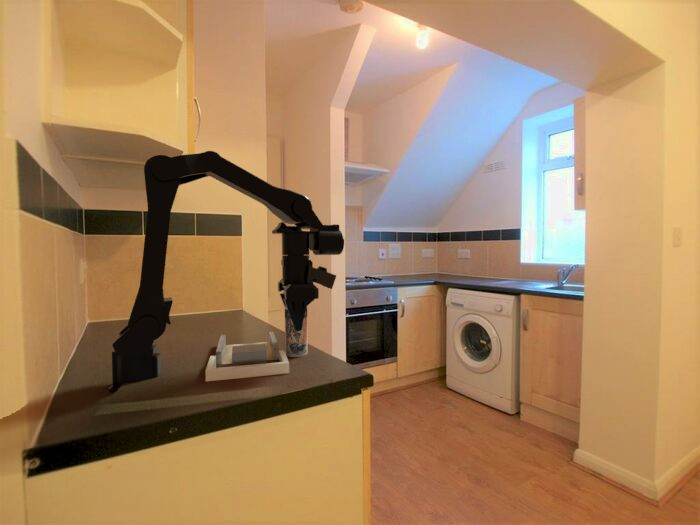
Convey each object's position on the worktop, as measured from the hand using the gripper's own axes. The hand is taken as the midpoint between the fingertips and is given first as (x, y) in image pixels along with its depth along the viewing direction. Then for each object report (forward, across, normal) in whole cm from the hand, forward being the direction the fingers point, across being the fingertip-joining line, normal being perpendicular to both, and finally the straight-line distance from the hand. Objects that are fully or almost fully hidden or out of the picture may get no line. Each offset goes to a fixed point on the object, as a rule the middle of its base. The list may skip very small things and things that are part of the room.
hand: (296, 328), depth 76 cm
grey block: (+6, -7, +10) cm, 14 cm away
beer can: (+7, 0, 0) cm, 7 cm away
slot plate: (+7, +4, +10) cm, 13 cm away
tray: (+7, -8, +10) cm, 14 cm away
